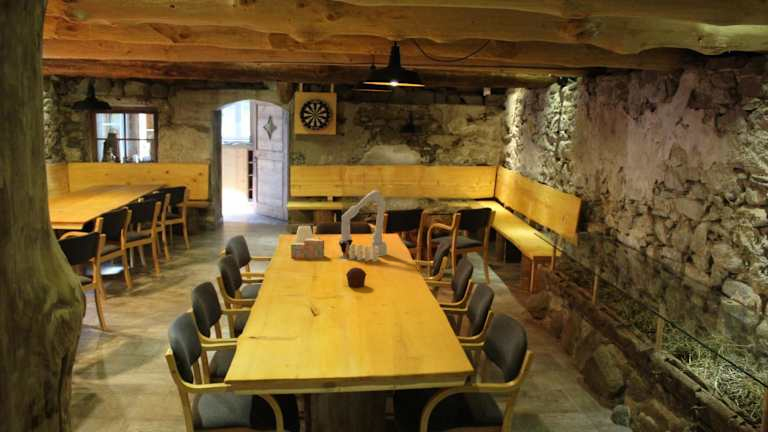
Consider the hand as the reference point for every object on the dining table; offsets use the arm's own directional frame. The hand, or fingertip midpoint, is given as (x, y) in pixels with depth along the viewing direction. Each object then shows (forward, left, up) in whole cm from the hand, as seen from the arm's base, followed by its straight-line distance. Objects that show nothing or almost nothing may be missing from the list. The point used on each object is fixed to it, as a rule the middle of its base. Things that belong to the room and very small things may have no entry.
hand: (345, 251), depth 410 cm
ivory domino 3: (-5, +20, -2) cm, 21 cm away
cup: (+9, -43, -3) cm, 44 cm away
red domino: (0, 0, -3) cm, 3 cm away
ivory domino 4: (-8, +25, -2) cm, 26 cm away
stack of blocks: (+24, -9, -3) cm, 26 cm away
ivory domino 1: (+1, +11, -2) cm, 12 cm away
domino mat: (-1, +15, -3) cm, 15 cm away
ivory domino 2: (-2, +16, -2) cm, 16 cm away
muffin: (+31, +67, -3) cm, 74 cm away
